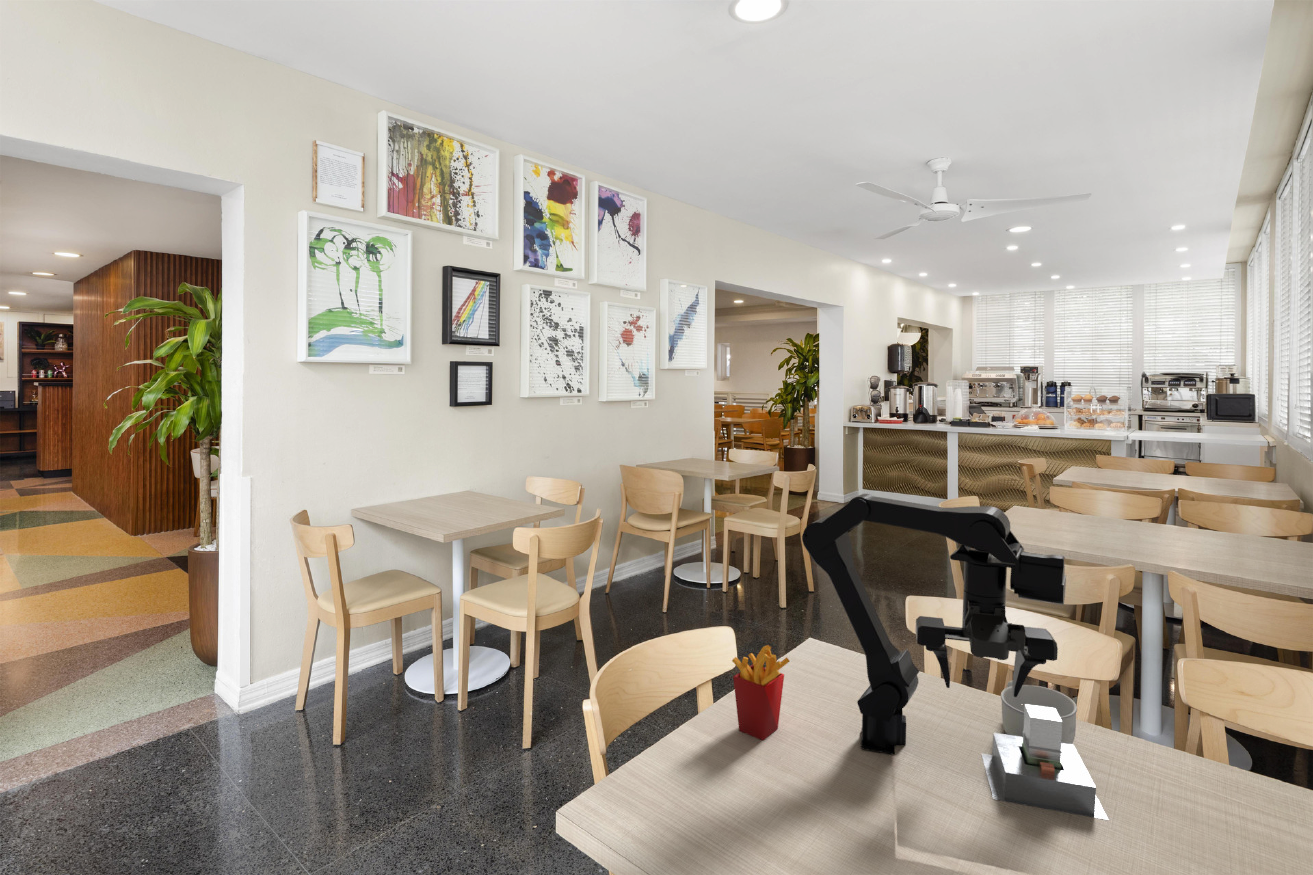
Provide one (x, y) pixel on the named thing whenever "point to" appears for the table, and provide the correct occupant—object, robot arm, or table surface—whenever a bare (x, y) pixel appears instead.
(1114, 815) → the table surface
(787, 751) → the table surface
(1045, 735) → the column
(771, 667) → the french fries
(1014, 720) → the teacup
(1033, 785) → the housing
